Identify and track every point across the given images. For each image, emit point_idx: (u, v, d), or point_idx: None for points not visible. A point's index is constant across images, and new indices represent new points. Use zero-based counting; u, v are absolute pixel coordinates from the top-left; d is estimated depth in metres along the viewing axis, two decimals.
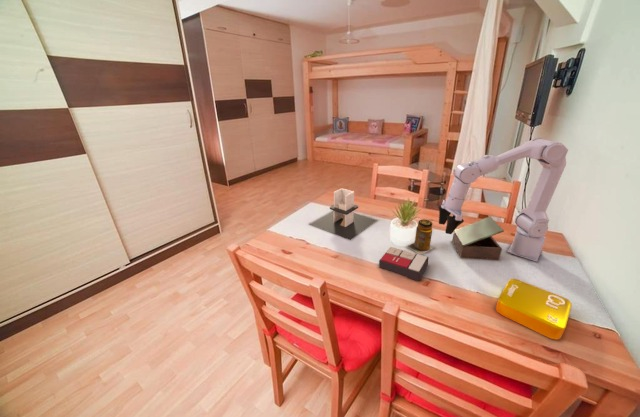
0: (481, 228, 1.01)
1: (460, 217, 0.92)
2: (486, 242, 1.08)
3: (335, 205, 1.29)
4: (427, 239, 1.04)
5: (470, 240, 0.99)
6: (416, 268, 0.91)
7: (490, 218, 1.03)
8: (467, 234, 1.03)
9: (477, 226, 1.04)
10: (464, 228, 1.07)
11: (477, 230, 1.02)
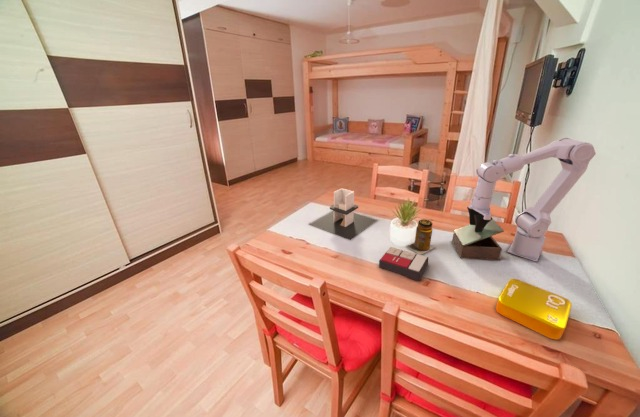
0: None
1: (488, 216, 0.92)
2: (486, 242, 1.08)
3: (335, 205, 1.29)
4: (427, 239, 1.04)
5: (470, 240, 0.99)
6: (416, 268, 0.91)
7: None
8: (467, 234, 1.03)
9: None
10: (464, 228, 1.07)
11: None
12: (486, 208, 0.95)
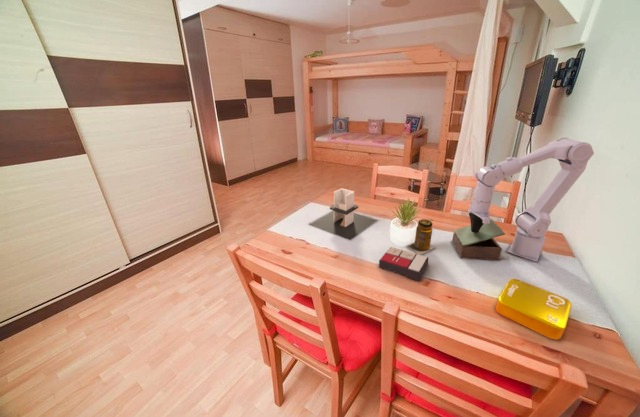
0: (482, 230, 1.02)
1: (487, 220, 0.92)
2: (486, 242, 1.08)
3: (335, 205, 1.29)
4: (427, 239, 1.04)
5: (470, 241, 0.99)
6: (416, 268, 0.91)
7: (491, 221, 1.04)
8: (467, 235, 1.03)
9: None
10: (464, 229, 1.07)
11: None
12: (485, 212, 0.96)
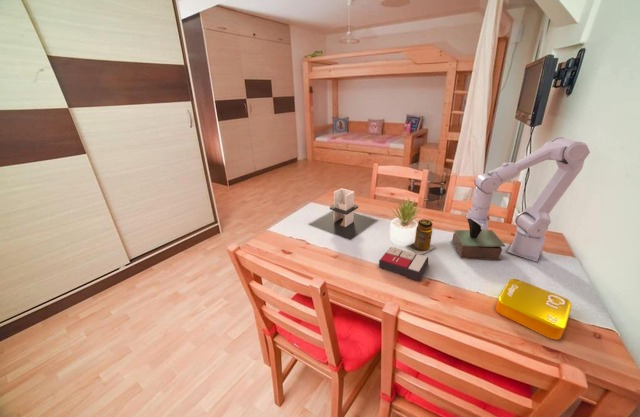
0: (482, 237, 1.03)
1: (486, 226, 0.93)
2: None
3: (335, 205, 1.29)
4: (427, 239, 1.04)
5: (471, 243, 0.99)
6: (416, 268, 0.91)
7: (492, 232, 1.06)
8: (468, 237, 1.03)
9: None
10: (465, 232, 1.08)
11: (478, 237, 1.03)
12: (483, 218, 0.97)
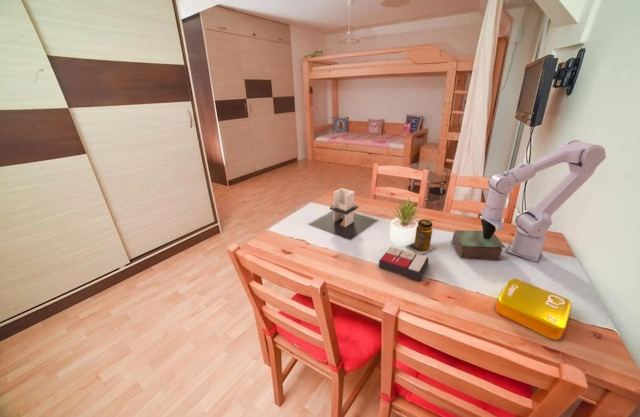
0: (482, 237, 1.03)
1: (500, 227, 0.93)
2: None
3: (335, 205, 1.29)
4: (427, 239, 1.04)
5: (471, 244, 1.00)
6: (416, 268, 0.91)
7: None
8: (468, 238, 1.03)
9: (478, 234, 1.05)
10: (465, 232, 1.08)
11: (478, 238, 1.03)
12: (498, 219, 0.96)
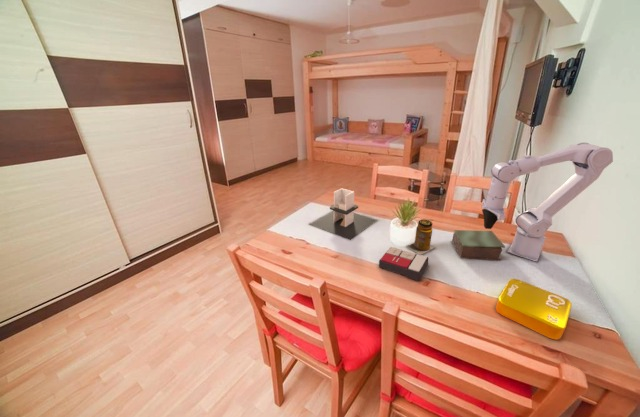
0: (482, 237, 1.03)
1: (503, 216, 0.92)
2: None
3: (335, 205, 1.29)
4: (427, 239, 1.04)
5: (471, 244, 1.00)
6: (416, 268, 0.91)
7: (492, 232, 1.06)
8: (468, 238, 1.03)
9: (478, 234, 1.05)
10: (465, 232, 1.08)
11: (478, 238, 1.03)
12: (500, 208, 0.95)
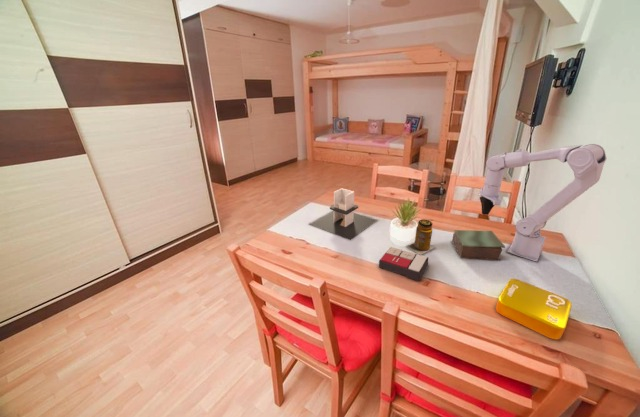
0: (482, 237, 1.03)
1: (497, 202, 1.02)
2: None
3: (335, 205, 1.29)
4: (427, 239, 1.04)
5: (471, 244, 1.00)
6: (416, 268, 0.91)
7: (492, 232, 1.06)
8: (468, 238, 1.03)
9: (478, 234, 1.05)
10: (465, 232, 1.08)
11: (478, 238, 1.03)
12: (495, 195, 1.06)
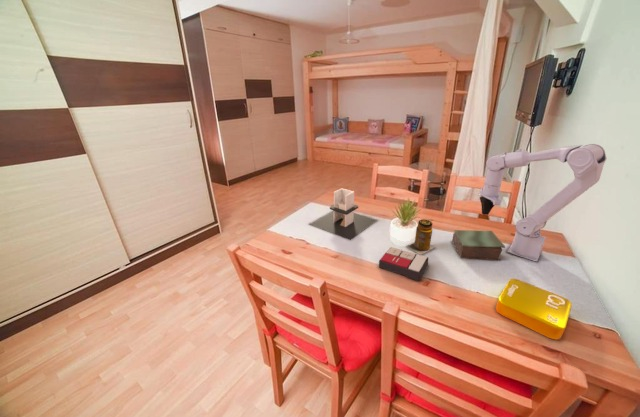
0: (482, 237, 1.03)
1: (497, 202, 1.02)
2: None
3: (335, 205, 1.29)
4: (427, 239, 1.04)
5: (471, 244, 1.00)
6: (416, 268, 0.91)
7: (492, 232, 1.06)
8: (468, 238, 1.03)
9: (478, 234, 1.05)
10: (465, 232, 1.08)
11: (478, 238, 1.03)
12: (495, 195, 1.06)
